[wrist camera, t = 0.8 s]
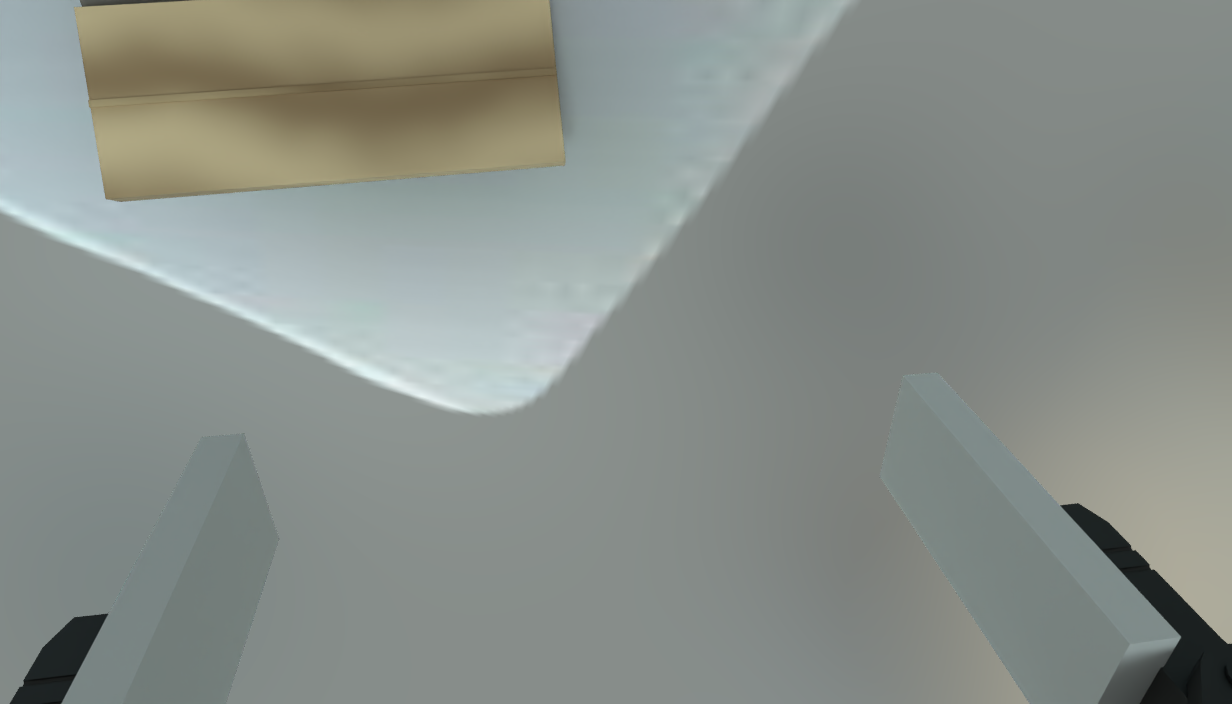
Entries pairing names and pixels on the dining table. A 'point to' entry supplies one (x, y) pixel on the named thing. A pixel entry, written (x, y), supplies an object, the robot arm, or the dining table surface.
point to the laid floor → (120, 2)
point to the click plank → (316, 92)
